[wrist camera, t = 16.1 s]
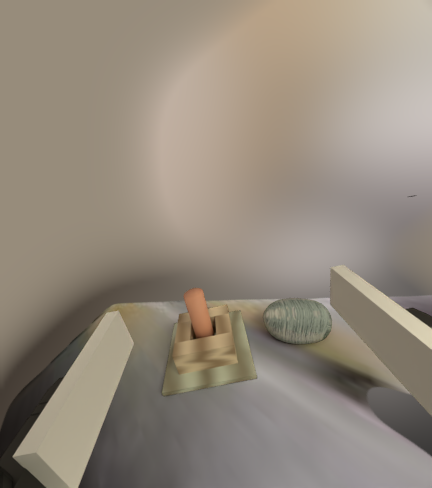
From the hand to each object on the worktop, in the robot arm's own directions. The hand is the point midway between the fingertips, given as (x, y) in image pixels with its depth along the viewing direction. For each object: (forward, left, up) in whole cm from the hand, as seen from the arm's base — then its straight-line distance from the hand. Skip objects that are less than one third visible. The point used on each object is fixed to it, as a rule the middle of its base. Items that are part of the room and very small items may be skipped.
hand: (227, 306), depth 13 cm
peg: (+7, -25, -29) cm, 39 cm away
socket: (+7, -25, -30) cm, 39 cm away
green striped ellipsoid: (-13, -24, -30) cm, 41 cm away
